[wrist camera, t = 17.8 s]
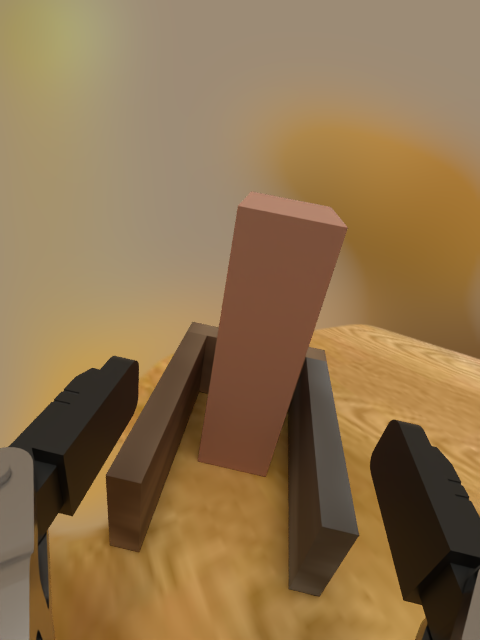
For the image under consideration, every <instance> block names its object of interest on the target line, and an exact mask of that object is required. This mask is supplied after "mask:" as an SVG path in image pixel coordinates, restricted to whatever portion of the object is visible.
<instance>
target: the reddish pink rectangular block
mask: <svg viewBox="0 0 480 640" xmlns="http://www.w3.org/2000/svg"><path fill="white" fill-rule="evenodd" d="M346 231H347V226H346V225H345V224H344V223H343V221H342V220H341V219H340V218H339V216H338V215H337V214H336V213H335V212H334V210H333V209H332V208H331V207H327V206H322V205H317V204H312V203H307V202H302V201H297V200H292V199H287V198H282V197H276V196H272V195H266V194H262V193H256V192H251V193H250V194H249V195H248V196H247V197H246V198H245V199H244V200H243V201H242V202H241V203H240V204H239V205H238V210H237V216H236V222H235V228H234V235H233V241H232V248H231V254H230V261H229V267H228V273H227V279H226V285H225V292H224V298H223V304H222V311H221V317H220V323H219V330H218V336H217V342H216V348H215V355H214V361H213V367H212V374H211V380H210V386H209V393H208V399H207V405H206V412H205V418H204V424H203V431H202V437H201V443H200V450H199V456H198V461H199V462H204V463H208V464H212V465H217V466H221V467H225V468H230V469H234V470H238V471H243V472H247V473H251V474H256V475H260V476H264V477H266V474H267V471H268V468H269V465H270V462H271V459H272V456H273V453H274V450H275V447H276V444H277V441H278V438H279V435H280V432H281V429H282V426H283V423H284V420H285V417H286V414H287V411H288V408H289V405H290V402H291V399H292V395H293V392H294V389H295V386H296V383H297V380H298V377H299V374H300V371H301V368H302V365H303V362H304V359H305V356H306V353H307V350H308V347H309V344H310V341H311V338H312V335H313V332H314V329H315V326H316V322H317V320H318V316H319V313H320V310H321V307H322V304H323V301H324V298H325V295H326V292H327V289H328V286H329V283H330V280H331V277H332V274H333V271H334V268H335V265H336V262H337V259H338V256H339V253H340V249H341V247H342V244H343V241H344V238H345V234H346Z"/></svg>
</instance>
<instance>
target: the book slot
mask: <svg viewBox="0 0 480 640" xmlns="http://www.w3.org/2000/svg"><path fill="white" fill-rule="evenodd" d="M218 330H219V327H214V326H209V325H204V324H200V323H195V322H192V324H191V326H190V327H189V329H188V331H187V333H186V334H185V336H184V338H183V340H182V341H181V343H180V345H179V347H178V348H177V350H176V352H175V354H174V356H173V357H172V359H171V361H170V363H169V364H168V366H167V368H166V370H165V371H164V373H163V375H162V377H161V379H160V380H159V382H158V384H157V386H156V387H155V389H154V391H153V393H152V394H151V396H150V398H149V400H148V402H147V403H146V405H145V407H144V409H143V410H142V412H141V414H140V416H139V417H138V419H137V421H136V423H135V424H134V426H133V428H132V430H131V432H130V433H129V435H128V437H127V439H126V440H125V442H124V444H123V446H122V447H121V449H120V451H119V453H118V455H117V456H116V458H115V460H114V462H113V464H112V465H111V467H110V469H109V470H108V472H107V474H106V488H107V505H108V522H109V539H110V545H112V546H116V547H120V548H124V549H128V550H132V551H136V552H139V551H140V549H141V546H142V543H143V541H144V538H145V535H146V533H147V530H148V527H149V524H150V522H151V519H152V516H153V514H154V511H155V508H156V506H157V503H158V500H159V498H160V495H161V492H162V490H163V487H164V484H165V482H166V479H167V476H168V474H169V471H170V468H171V465H172V463H173V460H174V457H175V455H176V452H177V449H178V447H179V444H180V441H181V439H182V436H183V433H184V431H185V428H186V425H187V423H188V420H189V417H190V414H191V412H192V409H193V406H194V404H195V401H196V398H197V396H198V393H199V392H204V393H209V386H210V380H211V374H212V367H213V361H214V355H215V348H216V342H217V336H218ZM288 443H289V589H291V590H295V591H299V592H303V593H307V594H311V595H316V596H320V595H321V593H322V592H323V590H324V589H325V587H326V586H327V584H328V582H329V581H330V579H331V578H332V576H333V575H334V573H335V572H336V570H337V569H338V567H339V565H340V564H341V562H342V561H343V559H344V558H345V556H346V555H347V553H348V552H349V550H350V548H351V547H352V545H353V544H354V542H355V541H356V539H357V538H358V536H359V532H358V527H357V522H356V516H355V511H354V506H353V500H352V495H351V490H350V484H349V479H348V473H347V468H346V463H345V457H344V452H343V447H342V441H341V436H340V431H339V425H338V420H337V415H336V409H335V404H334V398H333V393H332V388H331V382H330V377H329V372H328V366H327V361H326V356H325V350H321V349H316V348H311V347H308V350H307V353H306V356H305V359H304V362H303V365H302V368H301V371H300V374H299V377H298V380H297V383H296V386H295V389H294V392H293V395H292V399H291V402H290V405H289V408H288Z"/></svg>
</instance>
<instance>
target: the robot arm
mask: <svg viewBox="0 0 480 640" xmlns="http://www.w3.org/2000/svg"><path fill="white" fill-rule="evenodd" d="M138 383H139V364H138V362H137V361H135V360H130V359H126V358H122V357H117V356H113V357H111V358H110V359H109V360H108V361H107V362H106V364H105V365H104V366H103V367H102V368H101V369H100V370H99V369H95V368H91V369H89V370H87V371H86V372H84V373H82V374H80V375H78V376H76V377H75V378H74V379H73V380H72V381H71V382H70V383H69V384H68V385H67V387H66V388H65V389H64V391H63V392H61V393H60V394H59V395H58V396H57V397H56V398H55V399H54V402H51V403H50V405H48V406H47V407H46V409H45V410H44V411H43V412H42V413H41V414H40V415H39V416H38V417H37V418H36V419H35V420H34V421H33V422H32V423H31V424H30V425H29V426H28V427H27V428H26V429H25V430H24V431H23V433H21V434H20V436H19V437H18V438H17V439H16V440H15V441H14V442H13V443H12V444H11V445H10V446H9V447H6V448H0V640H55V632H54V625H53V615H52V597H51V575H50V553H49V531H48V528H49V527H50V525H51V524H52V522H53V520H54V519H55V517H56V516H57V514H58V513H62V514H66V515H70V516H73V515H74V513H75V511H76V510H77V508H78V506H79V505H80V503H81V501H82V500H83V498H84V496H85V495H86V493H87V491H88V490H89V488H90V486H91V485H92V483H93V481H94V479H95V478H96V476H97V475H98V473H99V471H100V470H101V468H102V466H103V465H104V463H105V461H106V460H107V458H108V456H109V455H110V453H111V451H112V450H113V448H114V446H115V445H116V443H117V441H118V440H119V438H120V436H121V435H122V433H123V431H124V430H125V428H126V426H127V425H128V423H129V421H130V420H131V418H132V416H133V414H134V412H135V409H136V406H137V402H138ZM370 470H371V475H372V479H373V483H374V487H375V491H376V495H377V499H378V503H379V507H380V511H381V515H382V518H383V522H384V526H385V530H386V534H387V538H388V542H389V546H390V550H391V554H392V558H393V561H394V565H395V569H396V573H397V577H398V581H399V585H400V589H401V593H402V597H403V600H404V601H408V602H412V603H416V604H420V605H422V606H423V609H424V613H425V616H426V618H425V619H424V620H423V621H422V623H421V625H420V627H419V630H418V633H417V636H416V639H415V640H480V517H479V515H478V513H477V511H476V509H475V508H474V506H473V504H472V502H471V501H469V496H468V494H467V492H466V490H465V488H464V487H463V486H462V485H461V481H460V479H459V477H458V475H457V473H456V471H455V469H454V467H453V466H452V464H451V463H450V462H449V460H448V459H447V458H446V457H445V456H444V455H443V454H442V453H441V452H440V450H439V449H438V448H437V447H433V446H431V444H430V442H429V440H428V438H427V436H426V434H425V432H424V430H423V428H422V427H421V426H419V425H415V424H411V423H406V422H402V421H398V420H392V421H390V422H389V424H388V425H387V427H386V429H385V431H384V433H383V434H382V436H381V438H380V440H379V442H378V443H377V445H376V447H375V449H374V451H373V453H372V456H371V461H370Z"/></svg>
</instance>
